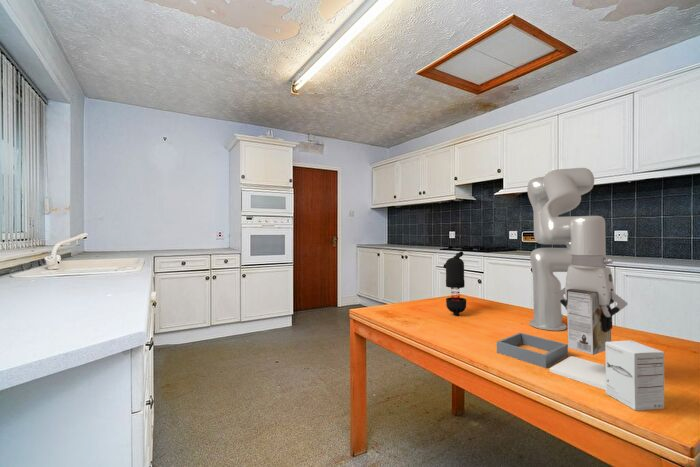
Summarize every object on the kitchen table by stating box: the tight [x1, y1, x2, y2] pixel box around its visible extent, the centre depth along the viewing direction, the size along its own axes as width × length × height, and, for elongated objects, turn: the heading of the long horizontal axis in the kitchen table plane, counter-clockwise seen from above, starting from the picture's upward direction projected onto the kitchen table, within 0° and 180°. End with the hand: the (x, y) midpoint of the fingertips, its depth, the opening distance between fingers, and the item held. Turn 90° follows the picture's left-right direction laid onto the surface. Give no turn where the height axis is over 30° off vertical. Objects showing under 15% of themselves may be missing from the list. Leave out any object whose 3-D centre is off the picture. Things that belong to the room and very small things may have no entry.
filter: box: [443, 250, 467, 317], centre depth 147 cm, size 14×9×30 cm
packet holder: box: [496, 332, 569, 369], centre depth 99 cm, size 15×15×4 cm
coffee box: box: [566, 289, 612, 356], centre depth 85 cm, size 9×6×16 cm
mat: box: [549, 355, 606, 391], centre depth 85 cm, size 14×14×1 cm
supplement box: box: [604, 340, 665, 411], centre depth 72 cm, size 7×7×13 cm
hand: (589, 327), depth 85 cm, fingers closed on coffee box, 6 cm apart
